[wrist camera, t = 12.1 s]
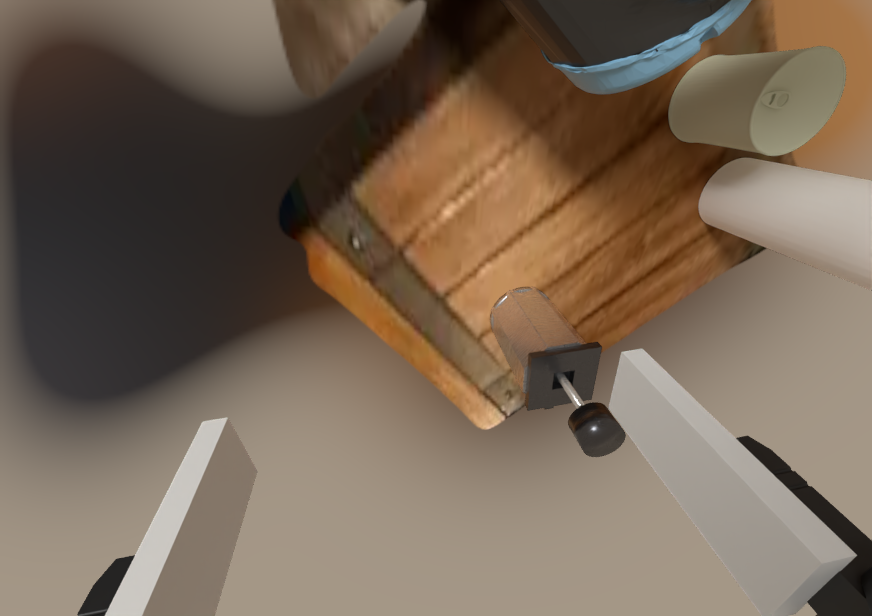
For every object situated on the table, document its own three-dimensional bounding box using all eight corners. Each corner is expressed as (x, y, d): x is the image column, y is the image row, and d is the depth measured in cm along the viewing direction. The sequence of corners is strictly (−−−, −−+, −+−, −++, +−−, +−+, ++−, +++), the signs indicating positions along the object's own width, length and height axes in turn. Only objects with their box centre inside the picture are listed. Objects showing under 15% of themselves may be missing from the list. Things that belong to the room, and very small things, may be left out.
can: (689, 48, 41) (793, 35, 31) (756, 61, 43) (875, 54, 33) (655, 137, 46) (736, 152, 36) (716, 146, 48) (810, 162, 37)
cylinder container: (737, 229, 55) (1055, 353, 29) (686, 221, 53) (980, 345, 27) (777, 164, 50) (1194, 242, 25) (723, 151, 48) (1117, 223, 23)
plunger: (508, 313, 51) (576, 425, 34) (553, 306, 52) (642, 413, 35) (507, 350, 55) (568, 469, 38) (549, 343, 55) (629, 457, 38)
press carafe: (489, 291, 54) (526, 355, 41) (552, 282, 55) (607, 341, 42) (490, 357, 60) (521, 429, 48) (546, 348, 61) (592, 417, 48)
